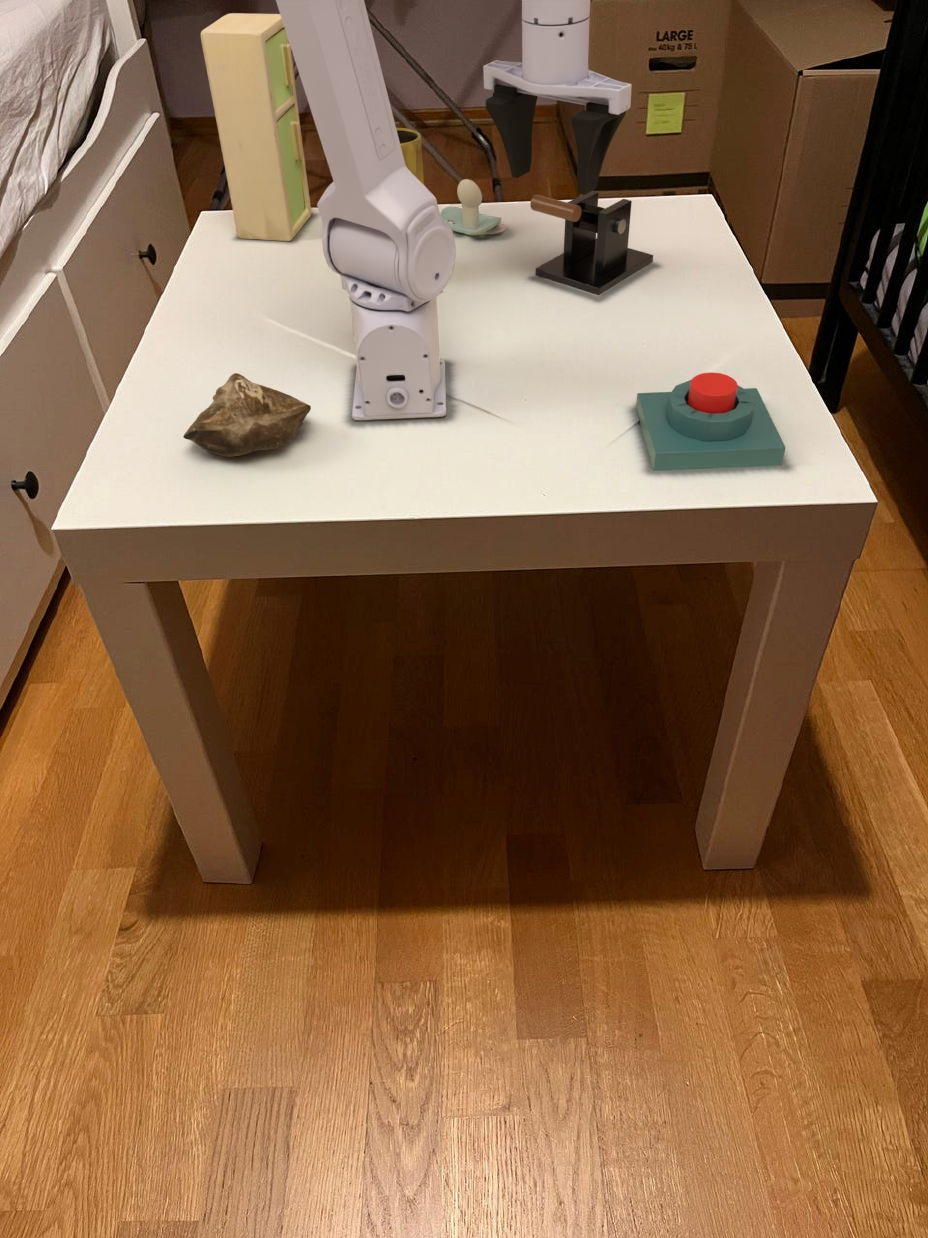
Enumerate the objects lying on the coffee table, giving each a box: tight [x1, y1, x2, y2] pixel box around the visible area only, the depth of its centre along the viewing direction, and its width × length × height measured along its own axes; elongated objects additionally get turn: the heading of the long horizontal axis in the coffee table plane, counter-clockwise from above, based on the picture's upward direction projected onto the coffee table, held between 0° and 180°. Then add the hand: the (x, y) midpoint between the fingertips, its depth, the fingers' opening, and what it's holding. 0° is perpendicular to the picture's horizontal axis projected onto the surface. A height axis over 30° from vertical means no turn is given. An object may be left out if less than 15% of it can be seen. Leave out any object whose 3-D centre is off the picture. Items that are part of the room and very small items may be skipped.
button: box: [688, 371, 739, 414], centre depth 76 cm, size 4×4×2 cm
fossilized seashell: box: [183, 372, 312, 457], centre depth 79 cm, size 8×7×10 cm
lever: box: [530, 193, 606, 234], centre depth 96 cm, size 10×5×2 cm, turn 139°
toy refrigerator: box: [200, 12, 312, 242], centre depth 107 cm, size 8×7×21 cm
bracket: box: [535, 190, 654, 296], centre depth 100 cm, size 10×8×7 cm
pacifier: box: [440, 178, 506, 237], centre depth 109 cm, size 7×6×6 cm
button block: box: [635, 379, 786, 472], centre depth 78 cm, size 9×10×4 cm
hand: (553, 182), depth 92 cm, fingers open, 7 cm apart
